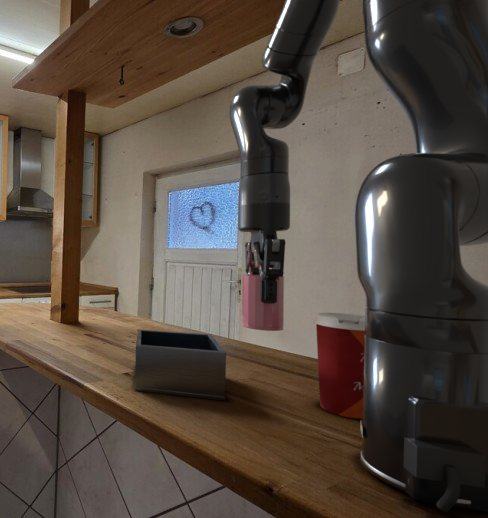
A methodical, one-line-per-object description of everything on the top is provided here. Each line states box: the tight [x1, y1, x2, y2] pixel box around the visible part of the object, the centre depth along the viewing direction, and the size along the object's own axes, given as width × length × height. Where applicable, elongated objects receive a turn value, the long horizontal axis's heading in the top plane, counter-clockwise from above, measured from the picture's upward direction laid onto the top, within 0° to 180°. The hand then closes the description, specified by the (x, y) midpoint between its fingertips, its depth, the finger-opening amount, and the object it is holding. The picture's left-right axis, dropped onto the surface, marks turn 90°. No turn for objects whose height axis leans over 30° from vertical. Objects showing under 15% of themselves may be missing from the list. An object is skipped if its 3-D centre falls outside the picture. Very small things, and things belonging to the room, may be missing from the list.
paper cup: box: [313, 312, 365, 420], centre depth 55 cm, size 8×8×14 cm
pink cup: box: [241, 274, 285, 332], centre depth 64 cm, size 6×6×9 cm
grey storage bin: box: [134, 329, 227, 402], centre depth 67 cm, size 14×14×8 cm
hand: (262, 300), depth 64 cm, fingers closed on pink cup, 6 cm apart
